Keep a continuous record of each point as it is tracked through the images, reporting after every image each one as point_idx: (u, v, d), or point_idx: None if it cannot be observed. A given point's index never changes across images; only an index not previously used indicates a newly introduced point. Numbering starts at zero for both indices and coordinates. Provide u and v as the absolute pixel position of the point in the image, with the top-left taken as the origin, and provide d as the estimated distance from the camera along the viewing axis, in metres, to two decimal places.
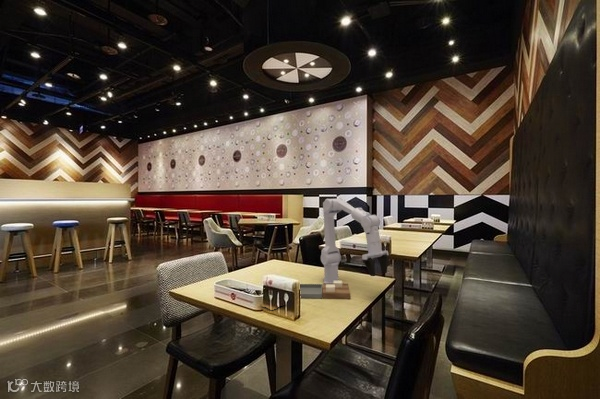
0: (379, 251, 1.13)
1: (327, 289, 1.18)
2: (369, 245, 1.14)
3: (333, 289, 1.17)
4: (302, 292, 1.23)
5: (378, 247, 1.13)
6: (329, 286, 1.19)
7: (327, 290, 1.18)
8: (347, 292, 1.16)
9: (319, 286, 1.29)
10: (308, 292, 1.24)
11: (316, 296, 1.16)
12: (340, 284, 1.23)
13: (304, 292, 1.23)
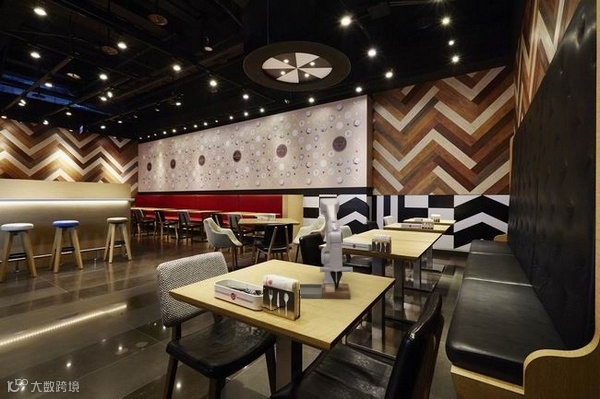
0: (335, 268, 1.16)
1: (327, 289, 1.18)
2: (329, 259, 1.20)
3: (333, 289, 1.17)
4: (302, 292, 1.23)
5: (334, 264, 1.16)
6: (329, 286, 1.19)
7: (327, 290, 1.18)
8: (347, 292, 1.16)
9: (319, 286, 1.29)
10: (308, 292, 1.24)
11: (316, 296, 1.16)
12: (340, 284, 1.23)
13: (304, 292, 1.23)
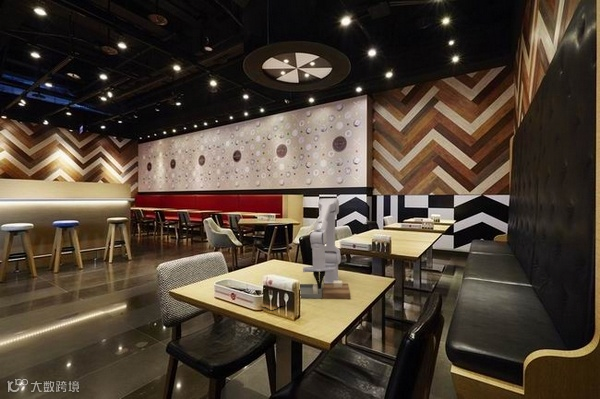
0: (317, 268, 1.17)
1: None
2: None
3: (315, 288, 1.18)
4: (302, 292, 1.23)
5: (317, 264, 1.17)
6: None
7: None
8: (347, 292, 1.16)
9: None
10: (308, 292, 1.24)
11: (316, 296, 1.16)
12: (340, 284, 1.23)
13: (304, 292, 1.23)
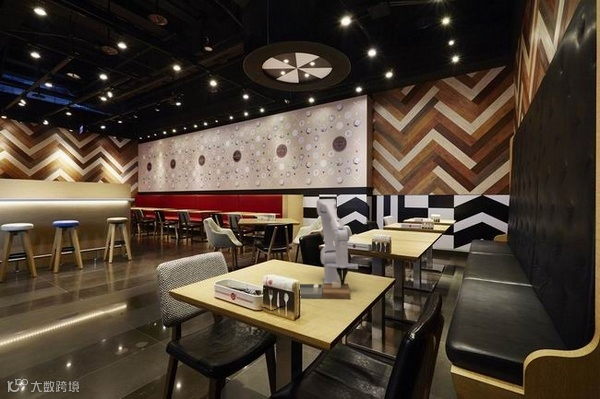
0: (341, 264, 1.22)
1: None
2: (335, 257, 1.25)
3: (315, 288, 1.18)
4: (302, 292, 1.23)
5: (340, 261, 1.22)
6: None
7: None
8: (347, 292, 1.16)
9: (319, 286, 1.29)
10: (308, 292, 1.24)
11: (316, 296, 1.16)
12: (338, 284, 1.23)
13: (304, 292, 1.23)
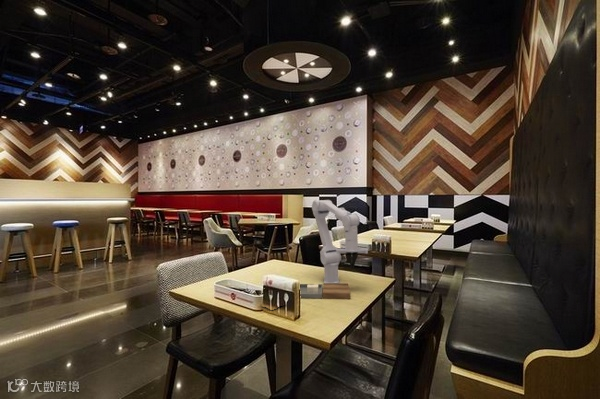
0: (351, 249, 1.23)
1: None
2: (345, 241, 1.26)
3: (315, 288, 1.18)
4: (302, 292, 1.23)
5: (350, 245, 1.23)
6: None
7: None
8: (347, 292, 1.16)
9: (319, 286, 1.29)
10: (308, 292, 1.24)
11: (316, 296, 1.16)
12: (308, 290, 1.24)
13: (304, 292, 1.23)
